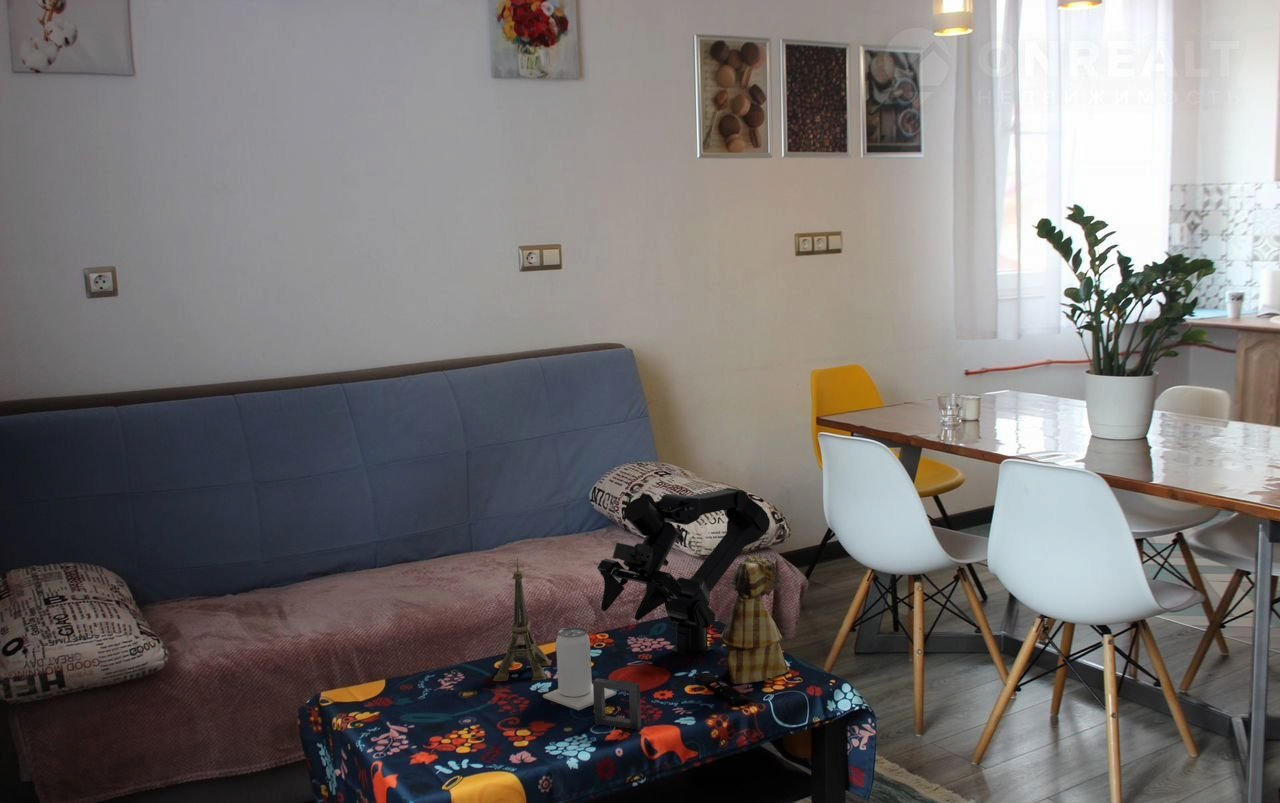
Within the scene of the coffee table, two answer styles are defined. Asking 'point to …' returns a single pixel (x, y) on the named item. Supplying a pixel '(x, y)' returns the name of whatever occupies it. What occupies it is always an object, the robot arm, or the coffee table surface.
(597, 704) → the dark grey square frame
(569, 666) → the can
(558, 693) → the pad
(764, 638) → the plush toy
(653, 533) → the robot arm
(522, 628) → the eiffel tower
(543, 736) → the coffee table surface
